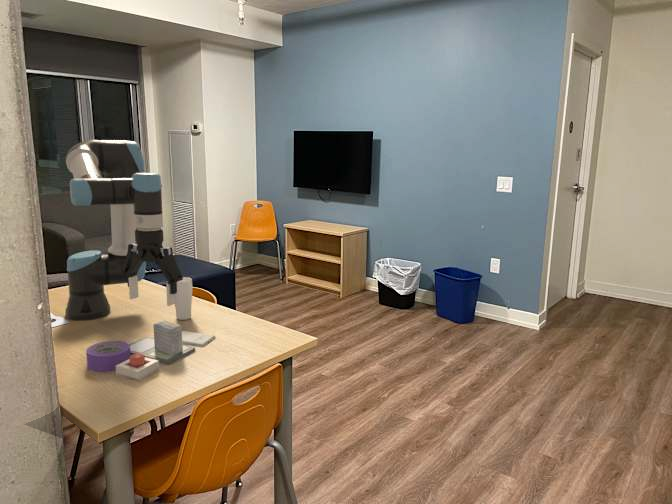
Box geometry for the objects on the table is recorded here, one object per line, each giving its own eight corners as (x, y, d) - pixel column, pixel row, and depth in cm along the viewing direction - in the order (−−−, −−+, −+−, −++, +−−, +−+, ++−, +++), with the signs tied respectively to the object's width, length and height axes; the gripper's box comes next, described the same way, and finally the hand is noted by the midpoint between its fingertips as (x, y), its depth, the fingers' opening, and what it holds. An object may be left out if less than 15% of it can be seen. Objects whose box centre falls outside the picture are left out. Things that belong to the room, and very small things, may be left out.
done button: (126, 367, 142) (126, 357, 142) (137, 362, 146) (136, 352, 145) (137, 370, 141) (137, 360, 140) (148, 365, 144) (147, 355, 144)
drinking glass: (196, 315, 192) (194, 277, 189) (189, 321, 185) (187, 282, 182) (178, 314, 192) (177, 276, 189) (171, 320, 186) (169, 281, 183)
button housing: (116, 375, 142) (115, 365, 141) (137, 364, 149) (137, 355, 148) (138, 381, 139) (137, 371, 138) (158, 370, 146) (158, 360, 145)
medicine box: (183, 351, 156) (182, 325, 155) (171, 356, 153) (170, 329, 151) (165, 345, 160) (164, 319, 159) (154, 350, 157) (152, 323, 155)
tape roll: (114, 352, 157) (113, 337, 156) (139, 361, 152) (138, 345, 151) (78, 365, 147) (77, 349, 146) (104, 376, 142) (102, 359, 141)
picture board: (118, 352, 157) (117, 348, 157) (146, 339, 168) (146, 336, 168) (168, 364, 149) (168, 361, 149) (195, 350, 160) (195, 347, 160)
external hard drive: (182, 334, 175) (215, 339, 171) (169, 343, 167) (202, 348, 164) (182, 330, 174) (215, 334, 171) (168, 338, 167) (202, 343, 163)
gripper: (104, 226, 143) (109, 298, 147) (176, 234, 134) (178, 311, 138) (124, 223, 150) (128, 292, 154) (194, 230, 141) (196, 303, 145)
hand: (152, 301), depth 146 cm, fingers open, 13 cm apart
